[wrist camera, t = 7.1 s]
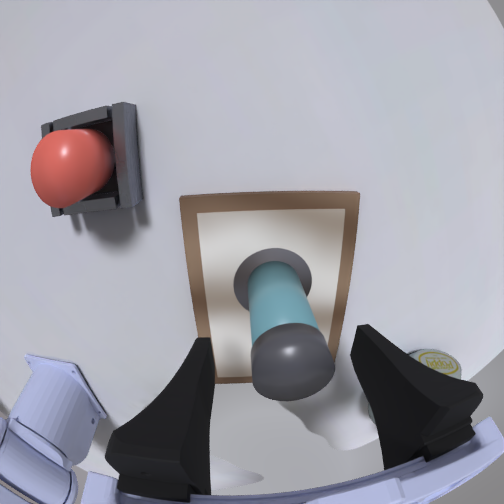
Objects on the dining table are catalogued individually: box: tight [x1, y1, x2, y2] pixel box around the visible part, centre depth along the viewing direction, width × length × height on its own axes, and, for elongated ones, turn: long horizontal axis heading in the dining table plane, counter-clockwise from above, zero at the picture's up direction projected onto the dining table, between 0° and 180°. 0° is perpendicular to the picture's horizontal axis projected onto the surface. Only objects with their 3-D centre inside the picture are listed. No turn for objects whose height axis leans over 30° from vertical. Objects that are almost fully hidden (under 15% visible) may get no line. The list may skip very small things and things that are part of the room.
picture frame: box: [179, 191, 360, 384], centre depth 20 cm, size 16×11×1 cm
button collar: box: [41, 102, 143, 217], centre depth 14 cm, size 6×6×2 cm
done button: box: [31, 129, 115, 208], centre depth 12 cm, size 4×4×3 cm
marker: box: [247, 261, 335, 401], centre depth 15 cm, size 4×4×8 cm
